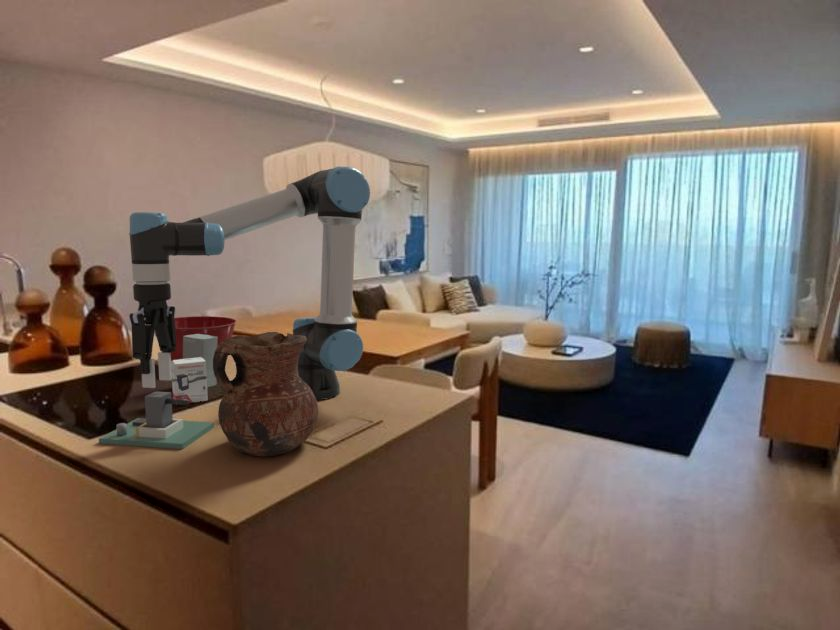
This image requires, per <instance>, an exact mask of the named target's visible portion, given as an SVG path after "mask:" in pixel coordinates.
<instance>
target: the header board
mask: <svg viewBox="0 0 840 630" xmlns="http://www.w3.org/2000/svg"><path fill="white" fill-rule="evenodd" d="M214 428H215V422H214V421H213V422H211V421H199V420H196V421H193V420H184V419H181V418H173V424H171V425H169V426H168V427H166V428H148V427H147V426H146V417H145V418H144V417H137V418H135V419H134V420H131V421H130V422H128V423H126V422H121V423H117V424H116V429H114V430H112V431H110V432H108V433H107V434H105V435H102V436H100V437H99V438H98V444H100V445H113V446H116V445H117V446H130V447H144V448H145V447H146V448H159V449H160V448H162V449H177V450H184V449H186V448H187V447H188V446H189V445H191V444H192V443H193V442H195V441H197V440H198V439H199V438H201V437H202V436H204V435H205V434H206V433H208V432H209V431H211V430H212V429H214Z"/></svg>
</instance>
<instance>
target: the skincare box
mask: <svg viewBox="0 0 840 630" xmlns="http://www.w3.org/2000/svg"><path fill="white" fill-rule="evenodd" d="M217 339H218V337H215V336H210V335H203V334H193V335H186V336H183V359H187V358H198V357H202V358H203V359H204V360H205V361H206V374H207V389H209V388H210V387H215V386H216V385H217V383H218V382H217V380H216V378H215V375H214V371H213V357H214V354H215V353H214V352H215V350H216V348H217Z"/></svg>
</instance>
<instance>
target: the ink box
mask: <svg viewBox="0 0 840 630" xmlns="http://www.w3.org/2000/svg"><path fill="white" fill-rule="evenodd" d="M171 371H172V380H171V383H172V384H171V385H172V387H171V388H172V399H186V400H189V401H190V403H189V404H193V402H194V403H199V402H200V401H201V402H205V401H208V399H209V398H208V397H209V395H208V388H207V374H206V361H205V360H204V359H203V358H202V357H198V358H187V359H179V360H173V361H171ZM175 405H176V406H178V404H175Z"/></svg>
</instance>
